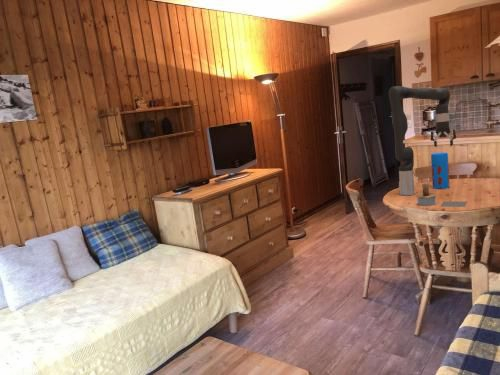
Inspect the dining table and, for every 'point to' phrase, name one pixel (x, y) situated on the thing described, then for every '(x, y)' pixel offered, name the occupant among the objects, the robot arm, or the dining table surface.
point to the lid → (425, 192)
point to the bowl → (426, 201)
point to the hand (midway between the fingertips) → (443, 146)
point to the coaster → (453, 204)
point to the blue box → (440, 170)
